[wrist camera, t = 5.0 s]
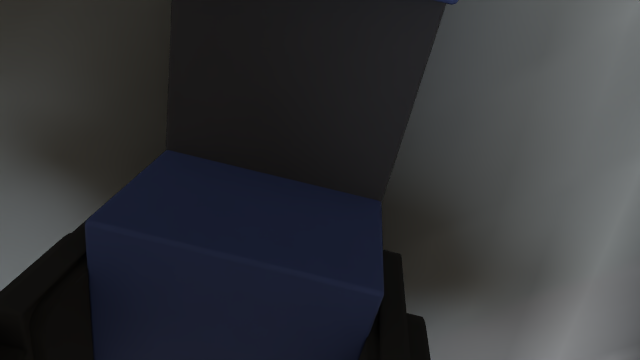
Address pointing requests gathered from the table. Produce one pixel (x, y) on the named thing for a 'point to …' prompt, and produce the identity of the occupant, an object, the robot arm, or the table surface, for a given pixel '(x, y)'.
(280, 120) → the navy rounded-end tab
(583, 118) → the table surface
